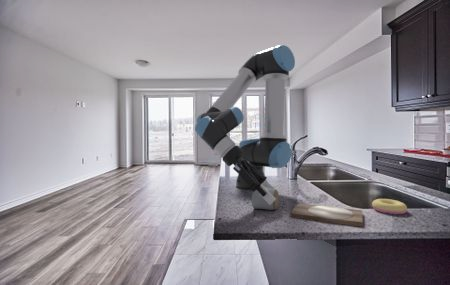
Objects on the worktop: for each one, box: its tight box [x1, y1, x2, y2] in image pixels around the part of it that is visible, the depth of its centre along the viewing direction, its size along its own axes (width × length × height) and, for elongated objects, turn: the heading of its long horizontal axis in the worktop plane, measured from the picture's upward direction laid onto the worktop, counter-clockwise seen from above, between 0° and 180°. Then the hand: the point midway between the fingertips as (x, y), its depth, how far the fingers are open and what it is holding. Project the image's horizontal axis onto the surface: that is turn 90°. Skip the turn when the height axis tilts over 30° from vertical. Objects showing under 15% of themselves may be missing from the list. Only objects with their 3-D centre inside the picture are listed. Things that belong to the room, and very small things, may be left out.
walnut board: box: [289, 203, 364, 228], centre depth 81 cm, size 13×20×1 cm, turn 63°
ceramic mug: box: [251, 187, 279, 211], centre depth 90 cm, size 11×8×8 cm
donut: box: [371, 198, 408, 216], centre depth 85 cm, size 10×5×9 cm
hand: (274, 198), depth 88 cm, fingers closed on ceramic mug, 8 cm apart
